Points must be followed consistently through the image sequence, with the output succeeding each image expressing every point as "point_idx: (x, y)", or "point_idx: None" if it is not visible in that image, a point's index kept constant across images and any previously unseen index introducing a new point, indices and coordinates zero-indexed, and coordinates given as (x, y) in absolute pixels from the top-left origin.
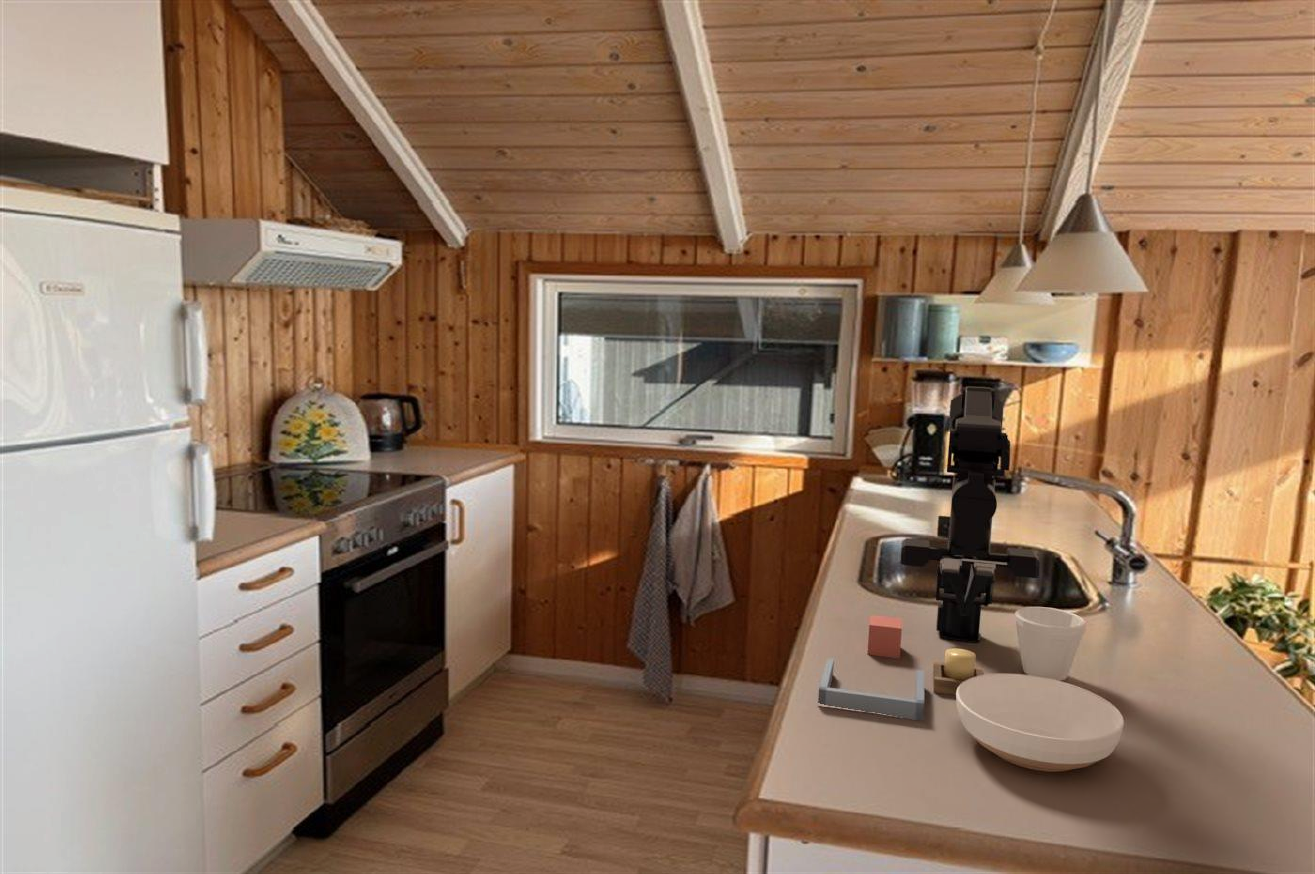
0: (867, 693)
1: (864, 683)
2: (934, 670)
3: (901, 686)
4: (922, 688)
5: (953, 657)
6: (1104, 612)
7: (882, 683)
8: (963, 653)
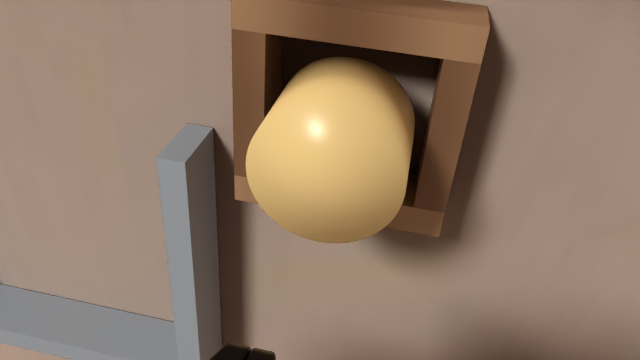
0: (46, 342)
1: (18, 130)
2: (234, 113)
3: (139, 135)
4: (191, 308)
5: (283, 225)
6: None
7: (72, 120)
8: (340, 175)
